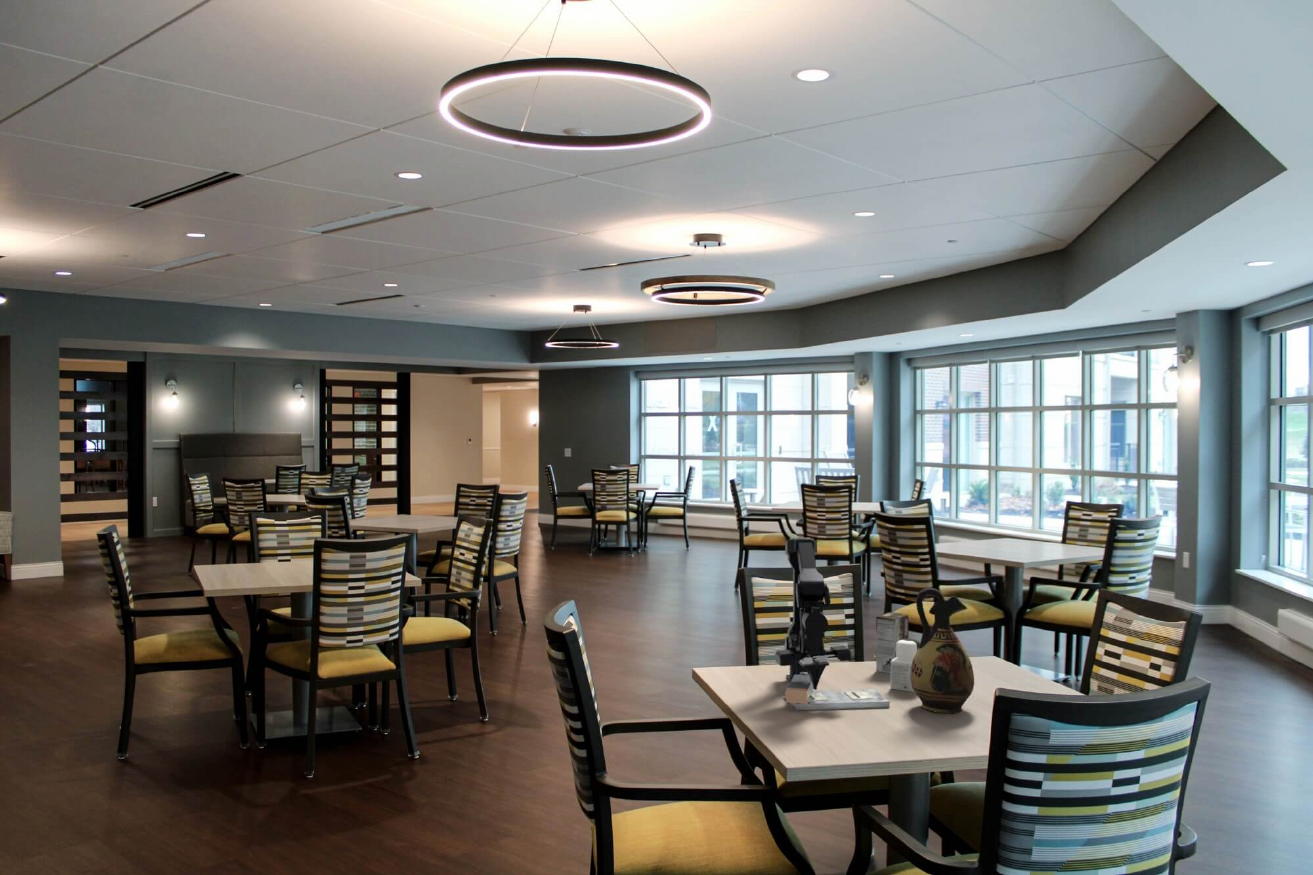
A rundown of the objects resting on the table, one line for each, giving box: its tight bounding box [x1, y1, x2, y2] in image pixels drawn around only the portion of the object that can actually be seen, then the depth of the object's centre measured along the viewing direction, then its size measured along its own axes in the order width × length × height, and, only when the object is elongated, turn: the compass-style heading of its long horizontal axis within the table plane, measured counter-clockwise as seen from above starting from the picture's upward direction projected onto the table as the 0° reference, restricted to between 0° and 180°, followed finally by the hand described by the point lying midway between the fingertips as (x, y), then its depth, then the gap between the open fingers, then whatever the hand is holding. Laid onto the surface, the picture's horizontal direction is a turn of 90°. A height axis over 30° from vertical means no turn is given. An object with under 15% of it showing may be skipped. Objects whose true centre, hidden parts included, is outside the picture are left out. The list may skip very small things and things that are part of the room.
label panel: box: [784, 688, 891, 711], centre depth 246 cm, size 12×24×2 cm, turn 97°
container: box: [890, 638, 921, 693], centre depth 261 cm, size 8×8×13 cm
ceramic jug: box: [910, 587, 975, 715], centre depth 241 cm, size 17×15×30 cm
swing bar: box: [785, 672, 814, 704], centre depth 246 cm, size 19×5×5 cm, turn 165°
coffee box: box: [875, 611, 909, 675], centre depth 281 cm, size 9×6×16 cm
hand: (814, 689), depth 244 cm, fingers closed
